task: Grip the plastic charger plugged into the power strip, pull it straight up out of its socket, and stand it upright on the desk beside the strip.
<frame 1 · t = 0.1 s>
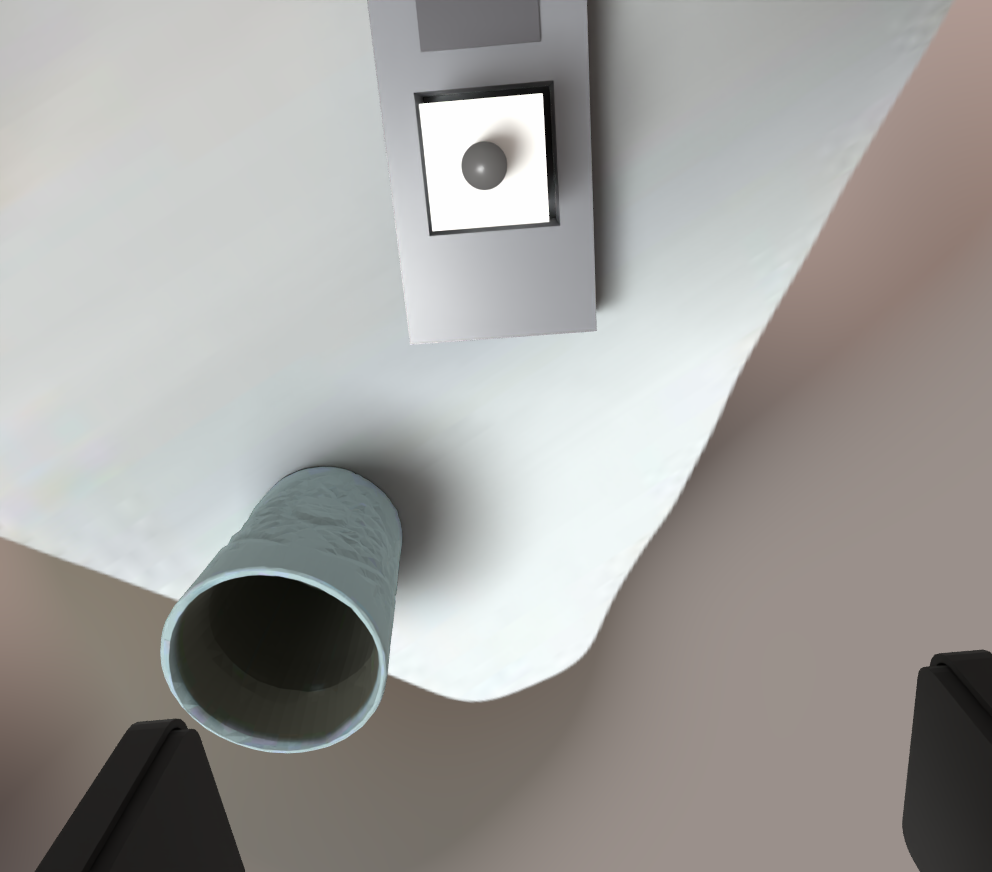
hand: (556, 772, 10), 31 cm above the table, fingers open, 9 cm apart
charger: (491, 159, 36), resting in power strip
blue-grey tapered cup: (333, 533, 44), on the table
power strip: (480, 19, 34), on the table
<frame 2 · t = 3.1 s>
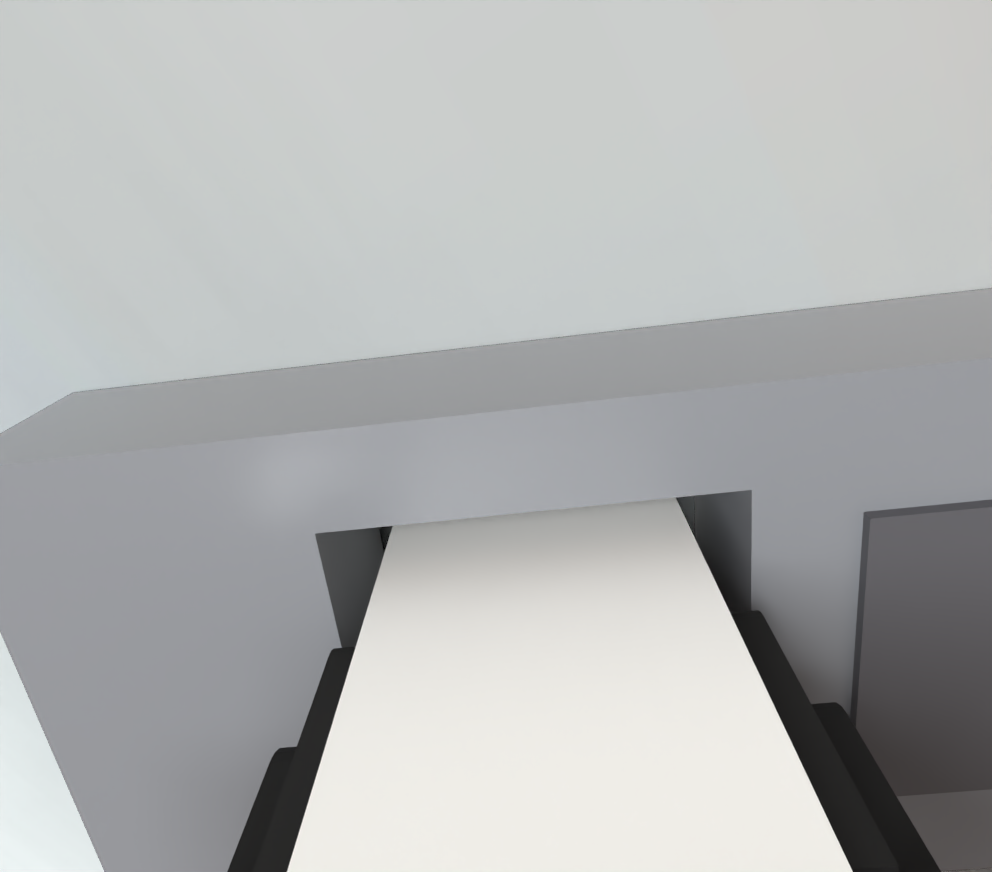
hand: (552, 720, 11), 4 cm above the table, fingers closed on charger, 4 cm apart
charger: (541, 565, 14), resting in power strip, touching gripper
power strip: (854, 536, 14), on the table
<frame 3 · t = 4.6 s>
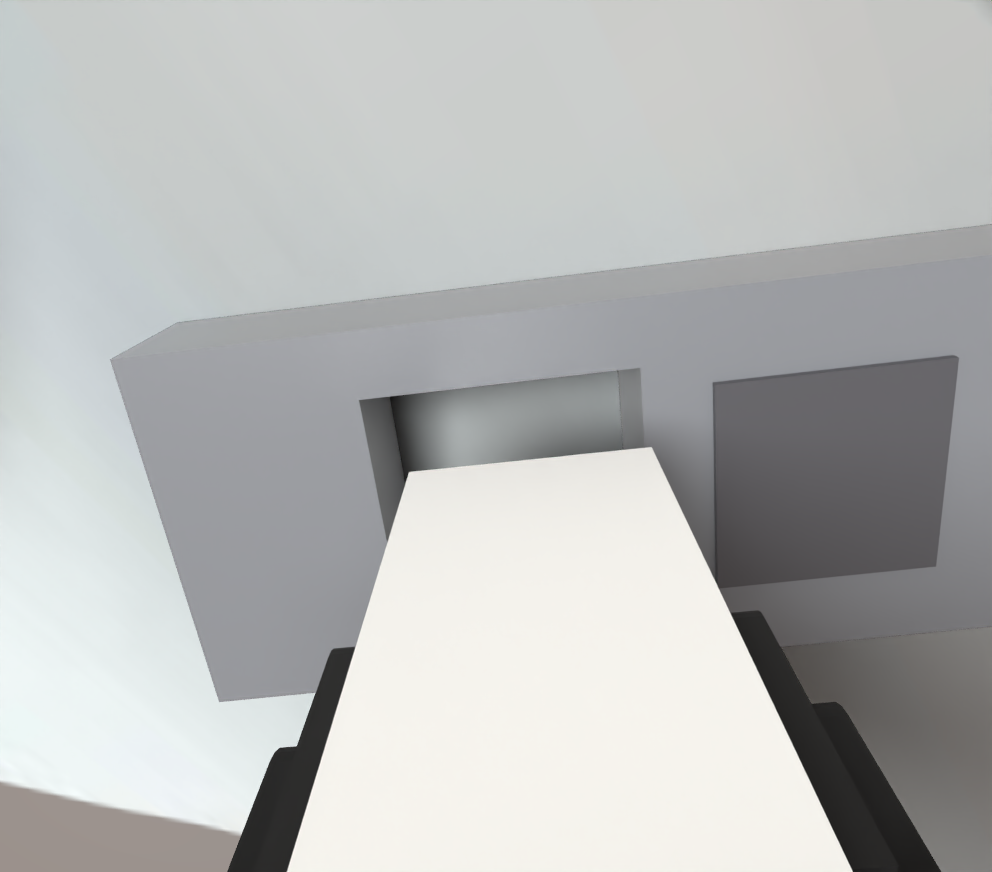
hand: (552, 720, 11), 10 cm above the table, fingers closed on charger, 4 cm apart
charger: (540, 564, 15), point 6 cm above the table, touching gripper
power strip: (734, 426, 20), on the table
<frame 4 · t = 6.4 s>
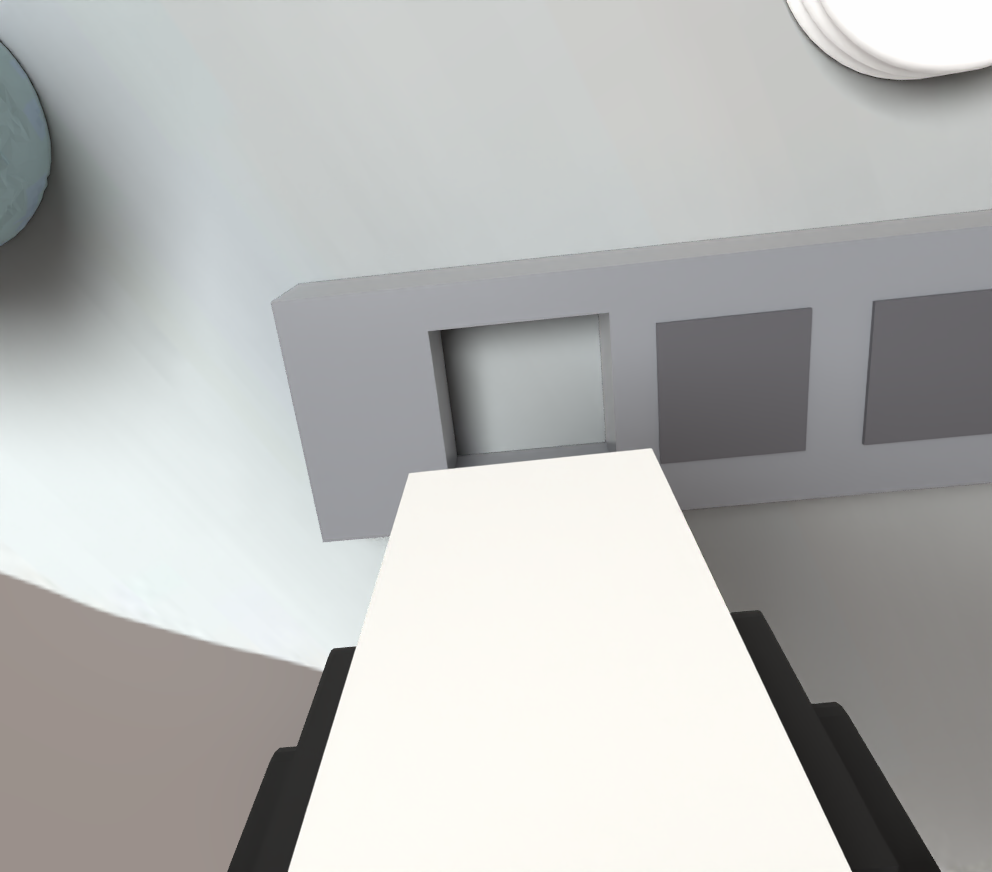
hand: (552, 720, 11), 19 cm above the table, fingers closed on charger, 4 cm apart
charger: (541, 565, 15), point 15 cm above the table, touching gripper
power strip: (679, 362, 28), on the table
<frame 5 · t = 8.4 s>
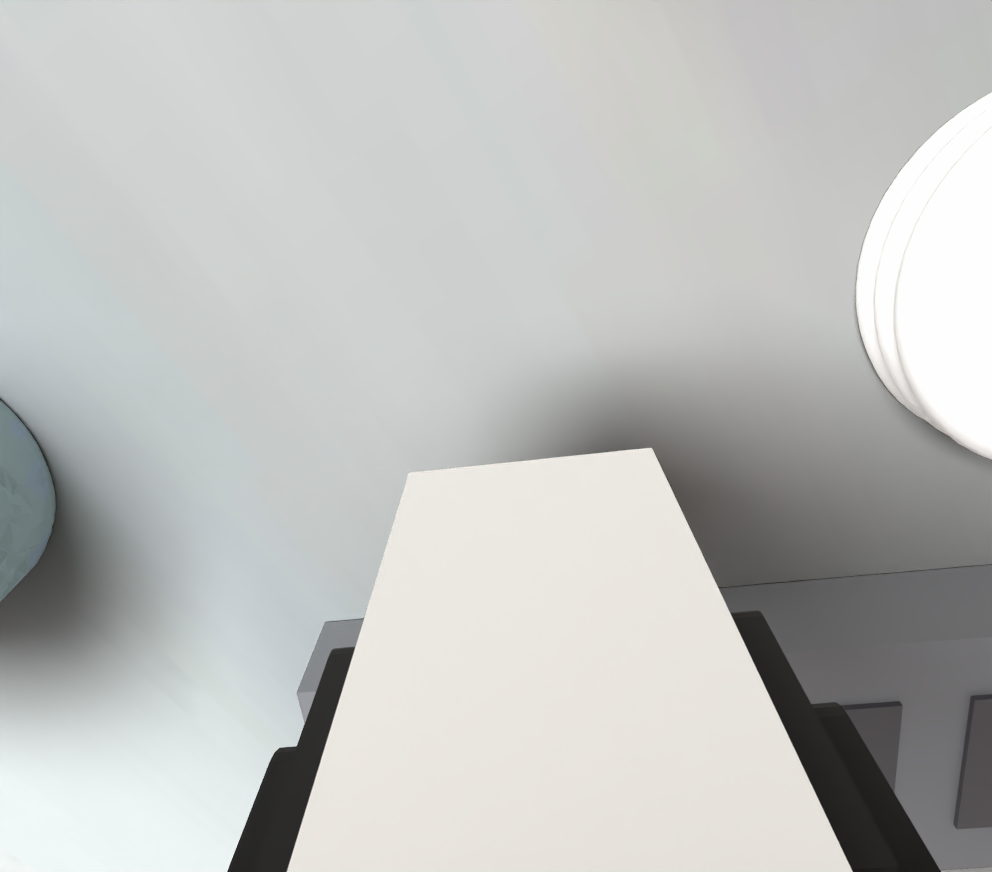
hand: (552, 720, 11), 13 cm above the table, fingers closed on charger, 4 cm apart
charger: (540, 565, 14), point 8 cm above the table, touching gripper
power strip: (742, 696, 26), on the table
when the fingers open (6 cm above the table, at t = 10.0 s): charger drops 1 cm, on the table.
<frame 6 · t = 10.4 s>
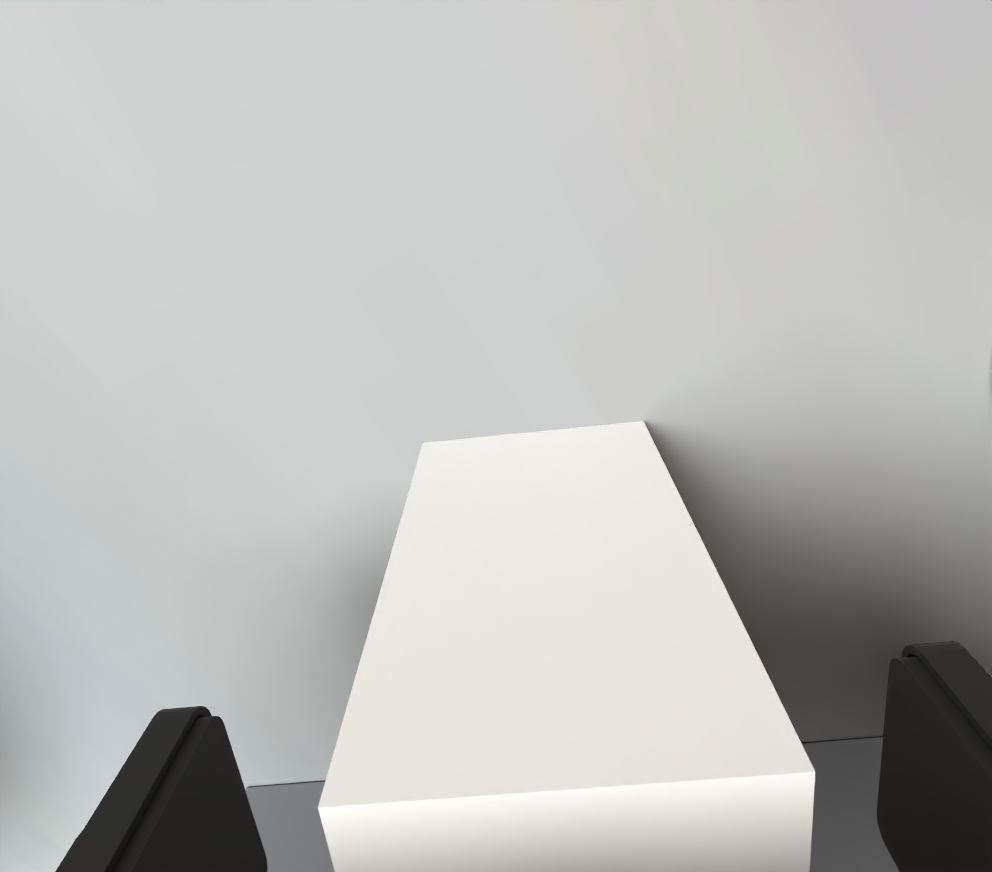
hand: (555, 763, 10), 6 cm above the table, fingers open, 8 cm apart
charger: (542, 529, 16), on the table
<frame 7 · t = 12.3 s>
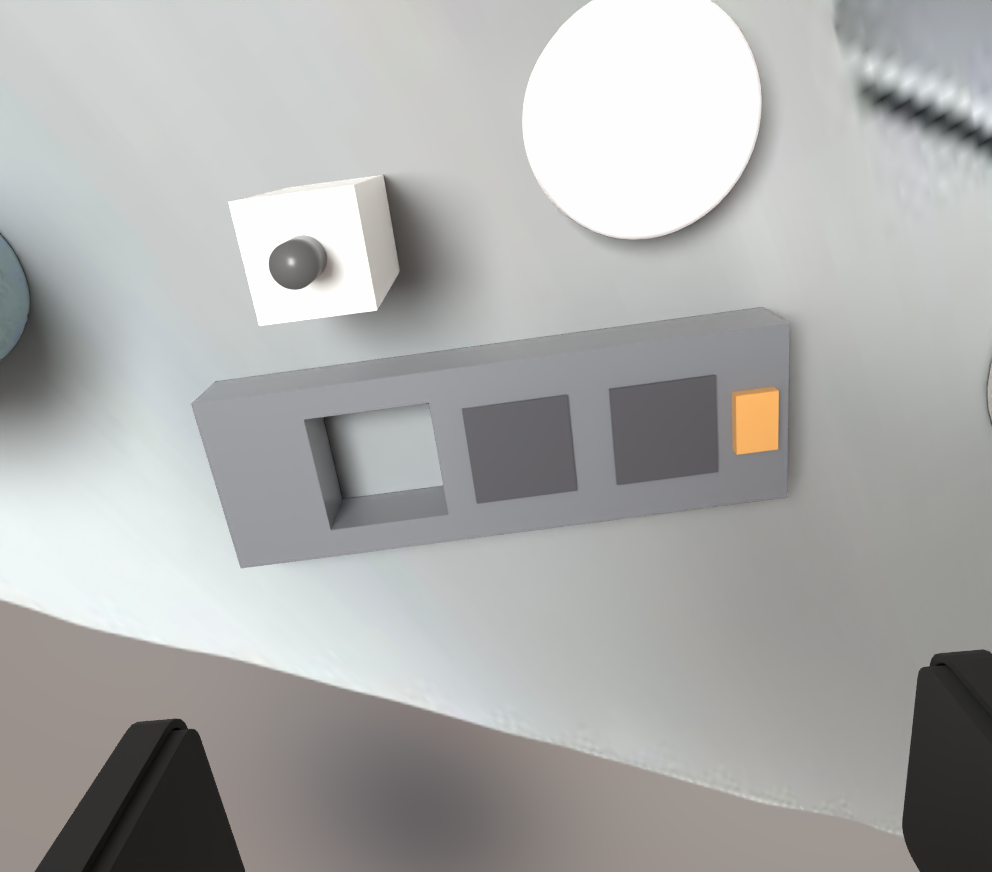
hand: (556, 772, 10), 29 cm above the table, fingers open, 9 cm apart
coaster: (629, 120, 34), on the table
charger: (345, 230, 35), on the table
power strip: (497, 426, 39), on the table
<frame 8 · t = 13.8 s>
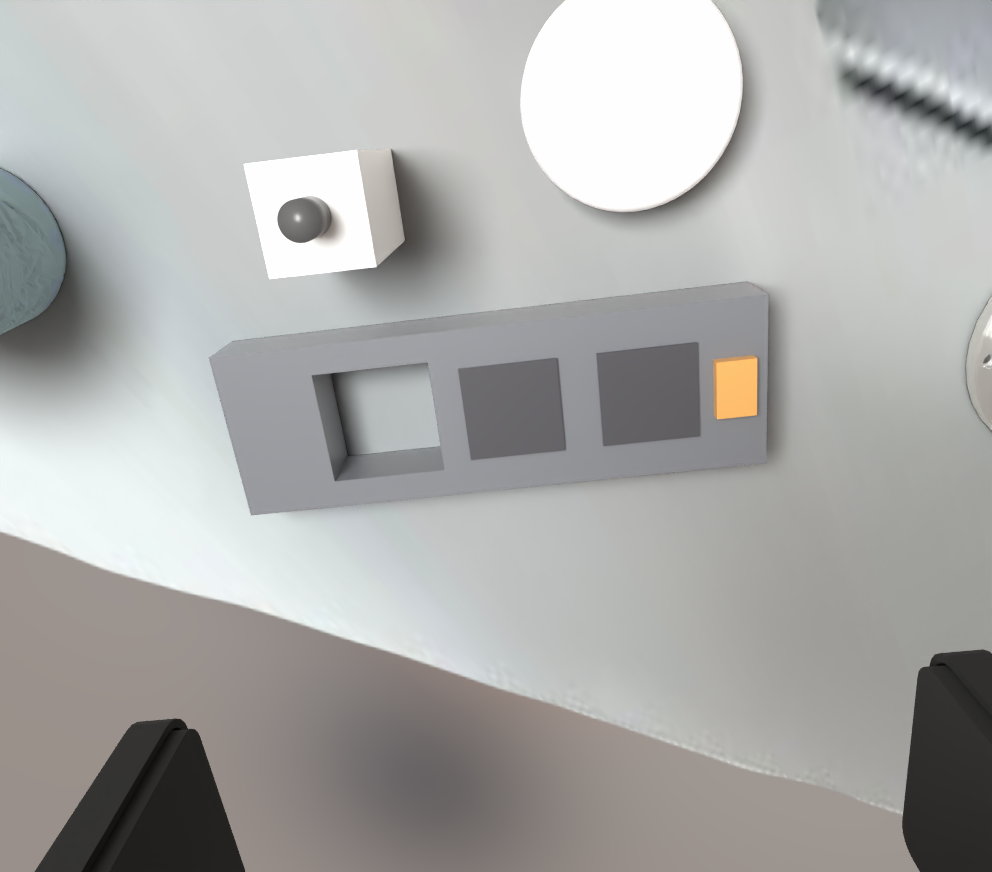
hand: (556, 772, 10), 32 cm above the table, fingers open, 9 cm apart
coaster: (621, 101, 37), on the table
charger: (354, 200, 38), on the table
power strip: (494, 390, 42), on the table
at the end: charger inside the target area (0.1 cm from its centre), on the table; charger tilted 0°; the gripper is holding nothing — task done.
